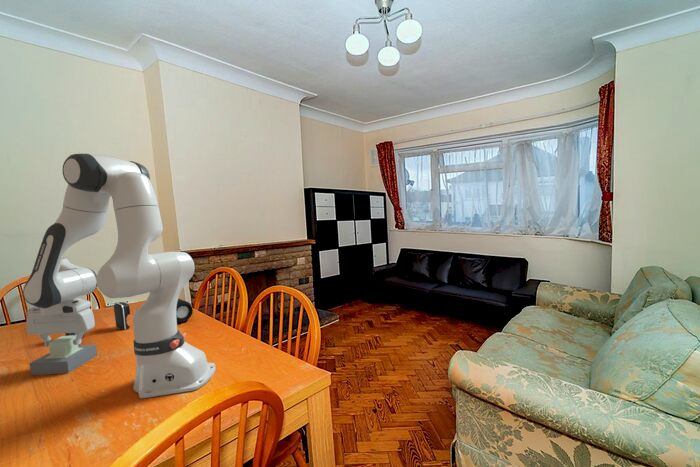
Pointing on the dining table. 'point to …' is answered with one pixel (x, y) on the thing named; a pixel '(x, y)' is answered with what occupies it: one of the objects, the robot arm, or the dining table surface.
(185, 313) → the portable speaker
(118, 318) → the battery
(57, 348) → the sage cube
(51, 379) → the dining table surface
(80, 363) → the base block
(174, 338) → the robot arm
